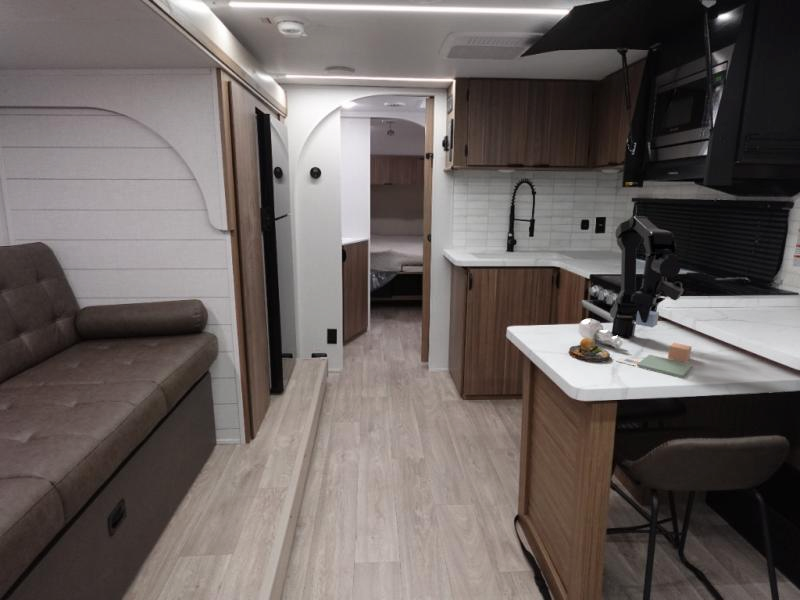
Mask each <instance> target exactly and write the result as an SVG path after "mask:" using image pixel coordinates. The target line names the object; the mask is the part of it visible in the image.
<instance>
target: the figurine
mask: <svg viewBox="0 0 800 600" xmlns="http://www.w3.org/2000/svg"><path fill="white" fill-rule="evenodd" d="M577 330H578V334H579V335H580V336H581V337H582V339H584V338H591V339H592V340H594V341H596V340H597V339H599V341H600V343H601V344H602V345H609V346H610V345H611V346H610V347H612V348H613V349H615V350H618V349H619V348H621V347H622V346H623V341H622V340H621V337H619V336H615V335H613V334H612V333H611V332H612V331H610V330H608V329H605V330H604V325H602V324H601V322H600V321H599V320H596V319H594V318H590V317H589V318H585V319H583V320H581V321H580V322H579V323H578V327H577ZM585 335H586V336H585ZM617 348H618V349H617Z"/></svg>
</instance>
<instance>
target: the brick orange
mask: <svg viewBox="0 0 800 600" xmlns="http://www.w3.org/2000/svg"><path fill="white" fill-rule="evenodd" d="M668 350H669V351H668V356H667V359H671V360H675V361H680V362H684V363H687V362H688V361H689V359H690V357H691V353H692V352H691V351H692V346H690V345H686V344H681V343H677V342H673V343H672V344H671V345H670V346H669V349H668Z"/></svg>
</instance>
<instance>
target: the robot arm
mask: <svg viewBox="0 0 800 600" xmlns="http://www.w3.org/2000/svg"><path fill="white" fill-rule="evenodd" d="M614 236H615V238H616V245H617V246H618V248H619V249H620V250H621V264H620V265H621V270H620V271H621V274H620V275H621V276H620V292H619V293H618V295H617V296H616V298H615V302H614V304H613V305H612V307H611V308H610V311H609V314H610V315H609V316H610V318H612V319H613V320H612V321H613V323H612V330H611V331H610V332H611V333H612V334H613V336H615V335H618V336H622V337H621V338H624V337H625V339H630V338H632V337H633V336H635V333H636V332H635V331H636V326H637V324H636V317H637V312H638V311H639V314H640V317H641V320H642V322H643V323H646V322H647V319H648V316H649V313H650V311H655V312H656V309H657V308H658V306H659V304H660V303H662V302H663V301H664V300H666V298H670V299H671V300H672V301H677V300H679V299H680V297H681V295H683V293H684V291H685V290H684V289H685V288H684V287H683V282H681V281H675V282H674V283H673V282H669V281H667V279H673V278H675V277H676V276H678V275H679V273H680V271H681V264H680V262H679V260H677V259H675V258H676V257H677V255H678V251H679V250H678V247H677V244H676V239H675V236H674V234H673V232H672V231H669V230H665V229H661V228H658V227H657V226H656V225H655V224H654V223H652V221H650V220H649V217H648V216H643V215H640V216H639V215H633V216H631V217H630V218H629V219H628V220H625V221H623V222H621V223H620V224H619V225H618V226H617V228H616V229H615V235H614ZM642 240H643V245H644V248H645V251H646V252H645V253H644V256H645V262H644V268H643V269H644V270H643V274H641V278H640V279H642V281H641V282H642V283H641V287H639V290H638V291H637V250H638V247H639V246H640V245H641V243H642ZM661 296H663V297H661Z"/></svg>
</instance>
